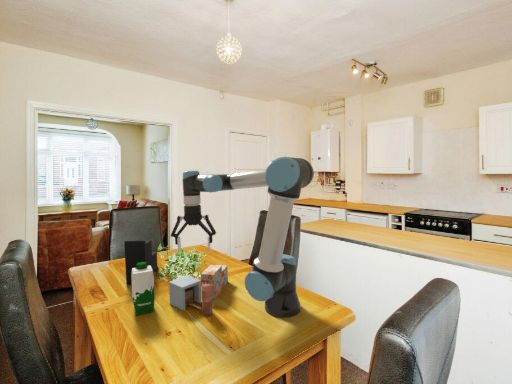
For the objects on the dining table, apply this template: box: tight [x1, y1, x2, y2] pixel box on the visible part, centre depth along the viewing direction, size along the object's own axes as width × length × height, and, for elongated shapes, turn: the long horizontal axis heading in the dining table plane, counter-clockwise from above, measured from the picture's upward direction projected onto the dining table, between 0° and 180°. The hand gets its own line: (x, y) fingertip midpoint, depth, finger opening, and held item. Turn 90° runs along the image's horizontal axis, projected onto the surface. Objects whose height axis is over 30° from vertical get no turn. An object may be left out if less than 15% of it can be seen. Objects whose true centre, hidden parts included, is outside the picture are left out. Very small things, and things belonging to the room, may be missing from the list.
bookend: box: [124, 239, 159, 285], centre depth 158 cm, size 23×11×24 cm, turn 4°
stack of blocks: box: [200, 264, 229, 301], centre depth 138 cm, size 21×6×12 cm, turn 168°
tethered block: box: [185, 284, 213, 317], centre depth 120 cm, size 20×5×12 cm, turn 50°
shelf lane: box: [168, 275, 202, 312], centre depth 124 cm, size 10×10×10 cm
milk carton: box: [131, 262, 156, 316], centre depth 118 cm, size 9×9×20 cm
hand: (194, 250), depth 127 cm, fingers open, 13 cm apart
